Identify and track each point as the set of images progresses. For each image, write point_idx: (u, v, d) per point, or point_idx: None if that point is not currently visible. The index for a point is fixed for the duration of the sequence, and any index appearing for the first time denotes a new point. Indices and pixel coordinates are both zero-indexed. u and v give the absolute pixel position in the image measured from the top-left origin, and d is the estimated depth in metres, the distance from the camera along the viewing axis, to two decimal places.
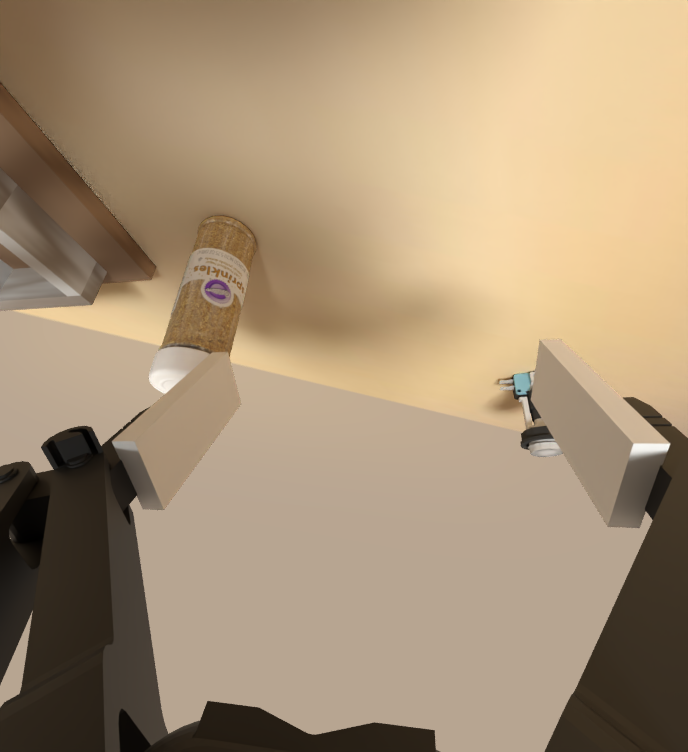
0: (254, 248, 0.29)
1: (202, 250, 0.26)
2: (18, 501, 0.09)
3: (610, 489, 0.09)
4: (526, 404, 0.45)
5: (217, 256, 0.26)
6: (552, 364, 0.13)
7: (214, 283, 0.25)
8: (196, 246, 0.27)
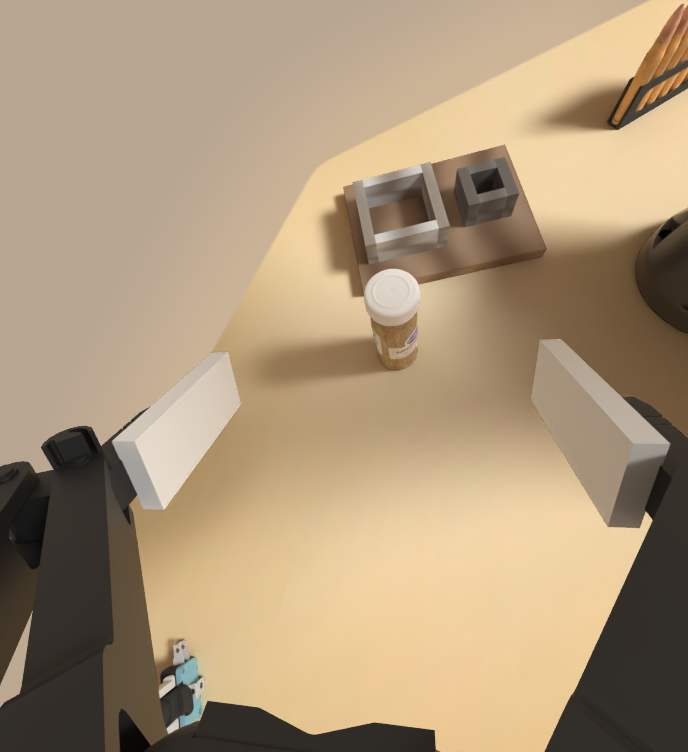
0: (394, 367, 0.41)
1: None
2: (18, 501, 0.09)
3: (610, 489, 0.09)
4: (168, 688, 0.32)
5: (416, 341, 0.38)
6: (552, 364, 0.13)
7: (415, 335, 0.36)
8: None
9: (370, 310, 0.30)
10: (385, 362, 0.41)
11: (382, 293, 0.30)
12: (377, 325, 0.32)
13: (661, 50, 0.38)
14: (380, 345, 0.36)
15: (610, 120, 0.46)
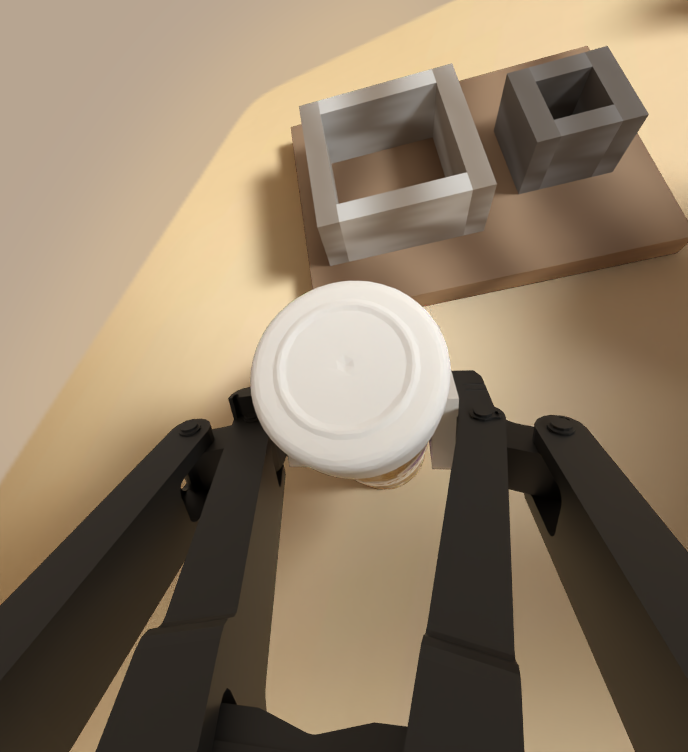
0: (376, 486, 0.19)
1: None
2: (193, 458, 0.10)
3: (431, 438, 0.12)
4: None
5: None
6: None
7: (425, 448, 0.14)
8: None
9: (268, 434, 0.08)
10: None
11: (311, 373, 0.08)
12: None
13: None
14: None
15: None
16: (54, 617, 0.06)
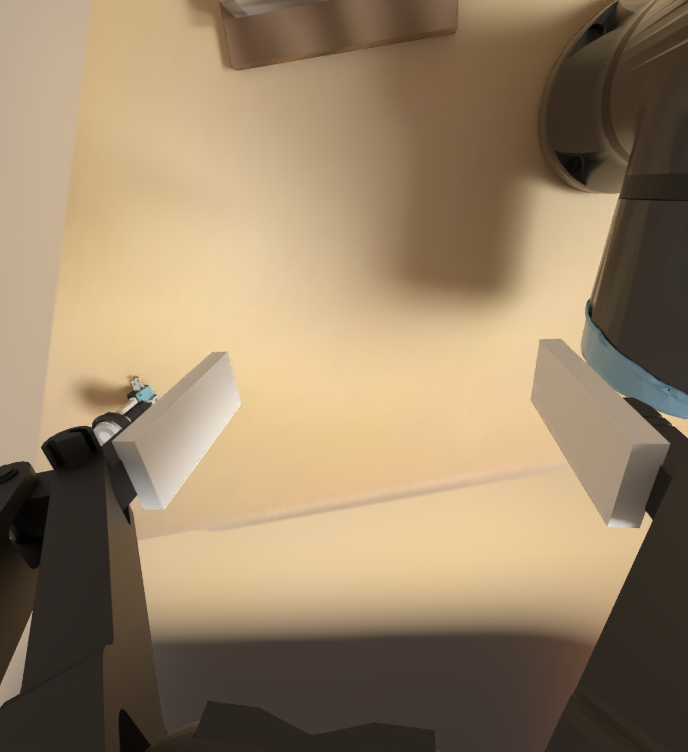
0: None
1: None
2: (18, 501, 0.09)
3: (610, 489, 0.09)
4: (132, 404, 0.53)
5: None
6: (552, 364, 0.13)
7: None
8: None
9: None
10: None
11: None
12: None
13: None
14: None
15: None
16: None
